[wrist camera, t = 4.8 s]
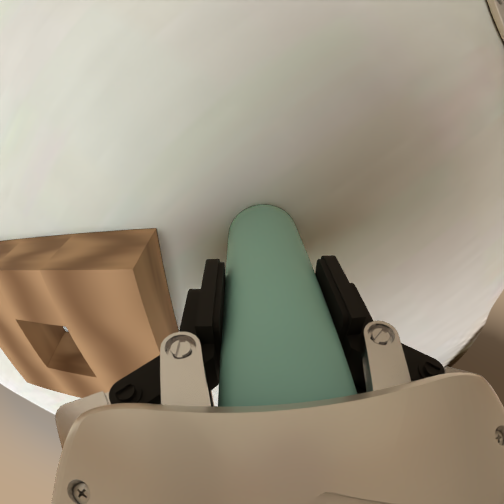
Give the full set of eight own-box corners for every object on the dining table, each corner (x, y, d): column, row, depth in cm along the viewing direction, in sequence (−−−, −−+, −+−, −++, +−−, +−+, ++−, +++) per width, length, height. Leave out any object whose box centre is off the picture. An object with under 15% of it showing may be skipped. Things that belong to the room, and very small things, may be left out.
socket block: (156, 228, 16) (132, 269, 12) (189, 370, 23) (185, 412, 19) (-14, 242, 15) (-43, 269, 11) (41, 352, 22) (27, 382, 18)
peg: (298, 204, 15) (430, 551, 1) (294, 264, 17) (362, 551, 3) (226, 205, 15) (203, 595, 1) (230, 266, 17) (225, 569, 3)
